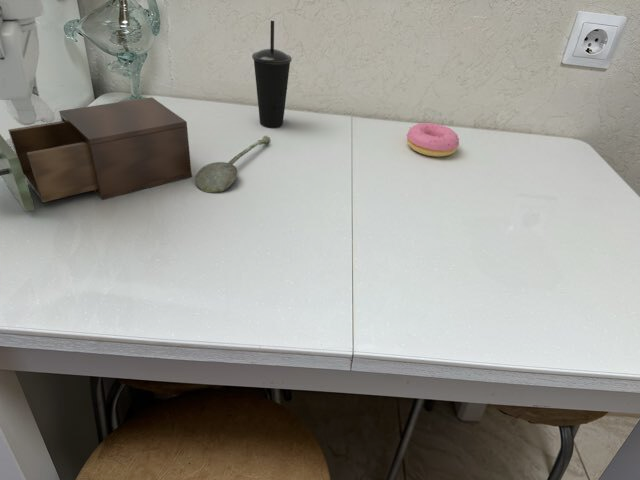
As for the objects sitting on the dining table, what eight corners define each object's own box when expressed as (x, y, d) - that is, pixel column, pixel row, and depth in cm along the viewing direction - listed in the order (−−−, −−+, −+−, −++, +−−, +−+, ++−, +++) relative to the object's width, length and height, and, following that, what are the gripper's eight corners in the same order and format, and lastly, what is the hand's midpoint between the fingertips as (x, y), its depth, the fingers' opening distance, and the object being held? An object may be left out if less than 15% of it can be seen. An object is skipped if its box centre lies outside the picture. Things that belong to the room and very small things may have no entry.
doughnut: (404, 155, 98) (408, 135, 96) (405, 134, 107) (408, 116, 105) (458, 163, 98) (463, 143, 96) (454, 141, 107) (459, 123, 105)
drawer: (-12, 220, 65) (-33, 167, 60) (-32, 186, 71) (-53, 135, 66) (123, 187, 76) (114, 139, 71) (96, 159, 82) (86, 113, 77)
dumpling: (22, 114, 70) (22, 86, 69) (61, 124, 71) (62, 97, 70) (-6, 124, 64) (-6, 93, 62) (37, 135, 65) (38, 105, 63)
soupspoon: (187, 190, 80) (223, 201, 79) (185, 171, 78) (222, 183, 77) (252, 139, 97) (282, 148, 95) (252, 122, 94) (283, 132, 93)
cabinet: (102, 199, 74) (88, 139, 68) (73, 168, 80) (58, 110, 75) (192, 176, 82) (186, 121, 77) (159, 149, 89) (152, 97, 83)
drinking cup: (246, 125, 102) (244, 20, 90) (263, 114, 108) (263, 14, 96) (279, 133, 100) (281, 28, 89) (295, 121, 106) (299, 21, 94)
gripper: (22, 17, 52) (55, 139, 61) (33, -18, 67) (58, 85, 75) (-50, 15, 50) (-6, 143, 58) (-22, -20, 65) (10, 86, 73)
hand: (30, 110), depth 67 cm, fingers closed on dumpling, 6 cm apart
